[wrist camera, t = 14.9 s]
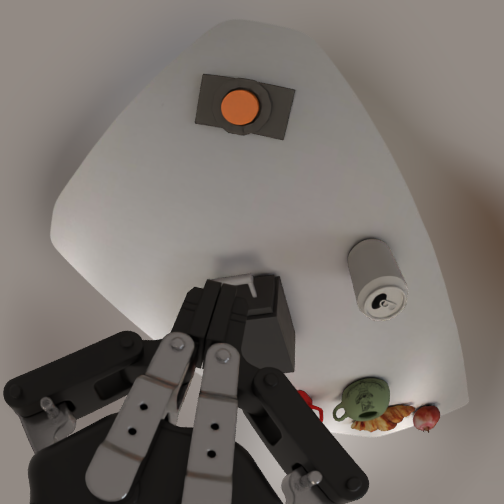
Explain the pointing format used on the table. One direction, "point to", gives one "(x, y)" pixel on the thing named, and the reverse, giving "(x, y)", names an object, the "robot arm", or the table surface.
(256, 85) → the control block
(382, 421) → the croissant
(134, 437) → the robot arm
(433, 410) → the fruit
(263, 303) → the small dark drawer
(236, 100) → the button
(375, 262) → the can
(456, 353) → the table surface
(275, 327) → the black drawer cabinet
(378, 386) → the mug
